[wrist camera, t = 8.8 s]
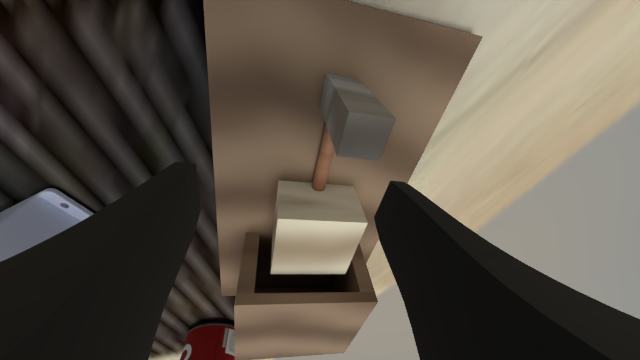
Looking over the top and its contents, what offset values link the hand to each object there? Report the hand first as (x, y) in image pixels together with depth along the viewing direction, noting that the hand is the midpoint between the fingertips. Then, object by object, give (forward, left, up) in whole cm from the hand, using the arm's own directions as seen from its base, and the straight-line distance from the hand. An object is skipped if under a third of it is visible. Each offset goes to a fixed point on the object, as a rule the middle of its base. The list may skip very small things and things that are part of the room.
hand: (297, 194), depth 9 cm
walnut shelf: (+8, -2, -9) cm, 12 cm away
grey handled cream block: (+5, 0, -8) cm, 9 cm away
